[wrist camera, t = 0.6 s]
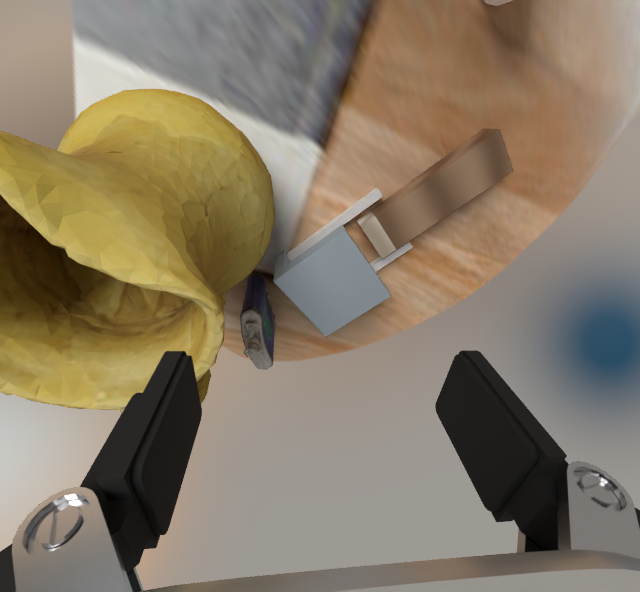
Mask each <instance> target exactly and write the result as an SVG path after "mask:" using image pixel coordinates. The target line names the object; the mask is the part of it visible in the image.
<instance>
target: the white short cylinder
mask: <svg viewBox="0 0 640 592" xmlns="http://www.w3.org/2000/svg"><path fill="white" fill-rule="evenodd" d="M483 1H484V2H485V3H486V4H490V5H494V6H499V5H502V4H505V3H508V2H511V1H514V0H483Z"/></svg>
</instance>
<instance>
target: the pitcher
mask: <svg viewBox="0 0 640 592" xmlns="http://www.w3.org/2000/svg"><path fill="white" fill-rule="evenodd" d="M274 217H275V209H274V200H273V189H272V182H271V175H270V174H269V172H268V170H267V168H266V166H265V164H264V162H263V160H262V159H261V157H260V155H259V154H258V152H257V151H256V150H255V148H254V147H253V146H252V144H251V143H250V141H249V140H248V139H247V137H246V136H245V135H244V134H243V132H242V131H240V130H238V129H237V128H236V127H235V126H234V125H233V124H232V123H231V122H229V121H228V120H227V119H226V118H224V117H223V116H222V115H221V114H220V113H218V112H217V111H216V110H215V109H214V108H213V107H211V106H210V105H209V104H207V103H205V102H204V101H202V100H200V99H198V98H195V97H192V96H189V95H186V94H183V93H179V92H176V91H169V90H162V89H138V90H125V91H121V92H119V93H117V94H114V95H112V96H109V97H107V98H105V99H103V100H101V101H99V102H97V103H94V104H92V105H91V106H89V107H88V108H87V109H85V110H84V111H82V112H81V113H80V115H79V116H78V118H77V119H76V120H75V121H74V122H73V124H72V125H71V126H70V127H69V129H68V130H67V132H66V133H65V135H64V137H63V139H62V141H61V144H60V145H59V148H58V150H57V151H56V150H53V149H50V148H47V147H44V146H41V145H38V144H35V143H33V142H30V141H28V140H26V139H23V138H21V137H18V136H15V135H12V134H9V133H6V132H3V131H0V392H2V393H4V394H6V395H12V394H13V395H16V396H19V397H22V398H25V399H28V400H31V401H36V402H41V403H47V404H53V405H60V406H64V407H69V408H78V409H101V410H120V412H121V413H122V412H123V411H124V409H125V407H126V405H127V404H128V402H129V400H130V399H131V397H132V396H133V395H134V394H136V393H143V391H144V389H145V388H146V386H147V384H148V382H149V380H150V378H151V376H152V375H153V373H154V371H155V369H156V367H157V365H158V364H159V362H160V360H161V358H162V356H163V354H164V353H165V352H166V351H185V352H186V354H187V355H190V356H192V359H193V365H194V370H195V376H196V381H197V387H198V392H199V397H200V403H202V402H203V400H204V399H205V396H206V394H207V390H208V385H209V381H210V377H211V374H210V370H209V368H210V367H211V366H212V365H213V364H214V363H216V358H217V354H218V352H219V349H220V347H221V345H222V343H223V341H224V310H223V306H224V304H225V296H226V292H227V291H228V290H229V289H231V288H232V287H234V286H235V285H237V284H238V283H240V282H241V281H242V280H244V279H245V278H246V277H247V276H248V275H249V274H250V273H251V272H252V271H253V270H254V269H255V268H256V266H257V265H258V264H259V262H260V261H261V259H262V257H263V255H264V253H265V251H266V249H267V247H268V245H269V243H270V239H271V232H272V229H273V224H274Z"/></svg>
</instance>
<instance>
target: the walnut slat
mask: <svg viewBox="0 0 640 592" xmlns="http://www.w3.org/2000/svg"><path fill="white" fill-rule="evenodd" d="M511 172H513V168H512V165H511V162H510V159H509V156H508V153H507V150H506V147H505V144H504V141H503V138H502V135H501V131H500V129H483V130H481V131H480V132H478V133H477V134H476V135H474V136H473V137H472V138H470V139H469V140H467V141H466V142H465V143H463V144H462V145H461V146H459V147H458V148H456V149H455V150H454V151H452V152H451V153H449V154H448V155H447V156H445V157H444V158H443V159H441V160H440V161H438V162H437V163H436V164H434V165H433V166H432V167H430V168H429V169H427V170H426V171H425V172H423V173H422V174H420V175H419V176H418V177H416V178H415V179H414V180H412V181H411V182H409V183H408V184H407V185H405V186H404V187H403V188H401V189H400V190H398V191H397V192H396V193H394V194H393V195H391V196H390V197H389V198H387V199H386V200H385V201H383V202H382V203H380V204H379V205H378V206H376V207H375V208H374V209H372V210H371V211H369V212H368V213H367V214H365V215H364V216H362V217H361V218H360V219H358V220H357V222H358V224H359V225H360V227H361V228H362V230H363V231H364V233H365V234H366V236H367V237H368V239H369V240H370V242H371V243H372V244H373V246H374V247H375V249H376V250H377V252H378V253H379V255H380V256H381V258H382V259H383V258H385V257H386V256H388V255H389V254H391V253H392V252H394V251H395V250H397V249H398V248H400V247H401V246H403V245H404V244H406V243H407V242H409V241H410V240H412V239H413V238H415V237H416V236H418V235H419V234H421V233H422V232H424V231H425V230H426V229H428V228H429V227H431V226H432V225H434V224H435V223H437V222H438V221H440V220H441V219H443V218H444V217H446V216H447V215H449V214H450V213H452V212H453V211H455V210H456V209H458V208H459V207H461V206H462V205H464V204H465V203H467V202H468V201H470V200H471V199H473V198H474V197H476V196H477V195H479V194H480V193H482V192H483V191H485V190H486V189H488V188H489V187H491V186H492V185H494V184H495V183H497V182H498V181H500V180H501V179H503V178H504V177H506V176H507V175H509V174H510V173H511Z"/></svg>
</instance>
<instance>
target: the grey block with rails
mask: <svg viewBox="0 0 640 592" xmlns="http://www.w3.org/2000/svg"><path fill="white" fill-rule="evenodd" d="M381 197H383V196H382V194H381V193H380V191H379V189H377V188H374V189H373V190H372V191H370V192H369V193H368V194H366V195H365V196H364V197H362V198H361V199H359V200H358V201H357V202H355V203H354V204H353V205H351V206H350V207H349V208H347V209H346V210H345V211H343V212H342V213H341V214H339V215H338V216H336V217H335V218H334V219H332V220H331V221H330V222H328V223H327V224H326V225H324V226H323V227H322V228H320V229H319V230H318V231H316V232H315V233H313V234H312V235H311V236H309V237H308V238H307V239H305V240H304V241H303V242H301V243H300V244H299V245H297V246H296V247H295V248H293V249H292V250H291V251H289V252H288V253H287V252H286V251H285V250H284V251H283V252H281V253H280V254H279V255H277V256H276V260H275V270H274V280H273V282H274V283H275V284H276V285H277V286H278V287H279V288H280V289H281V290H282V291H283V292H284V294H285V295H286V296H287V297H288V298H289V299H290V300H291V301H292V302H293V303H294V304H295V305H296V306H297V307H298V308H299V309H300V310H301V311H302V312H303V314H304V315H305V316H306V317H307V318H308V319H309V320H310V321H311V322H312V323H313V324H314V325H315V326H316V327H317V328H318V329H319V330H320V331H321V333H322V334H323V335H324V336H325V337H327V336H328V335H330V334H332V333H333V332H335V331H336V330H338V329H340V328H341V327H343V326H344V325H346V324H348V323H349V322H351V321H352V320H354V319H355V318H357V317H359V316H360V315H362V314H363V313H365V312H367V311H368V310H370V309H371V308H373V307H375V306H376V305H378V304H379V303H381V302H383V301H384V300H386V299H387V298H389V297H390V296H391V294H390V293H389V291H388V289H387V288H386V286H385V285H384V283H383V282H382V280H381V279H380V278H379V276H378V275H377V273H376V272H377V271H378V270H380V269H381V268H383V267H384V266H386V265H387V264H389V263H390V262H392V261H393V260H395V259H396V258H398V257H399V256H401V255H402V254H404V253H405V252H407V251H408V250H410V249H411V248H413V247H412V245H411V243H410V242H407V243H406V244H404V245H403V246H401V247H400V248H398V249H397V250H395V251H394V252H392V253H391V254H389V255H388V256H386V257H385V258H383V259H382V258H381V256H379V257H378V258H376V259H375V260H374V261H372V262H371V263H369V262H368V261H367V259H366V258H365V256H364V255H363V253H362V252H361V251H360V249H359V248H358V246H357V245H356V244H355V242H354V241H353V239H352V238H351V236H350V235H349V234H348V232H347V231H346V229H345V228H344V226H343V225H344V224H346V223H347V222H348V221H350V220H351V219H352V218H354V217H355V216H357V215H358V214H359V213H361V212H362V211H363V210H365V209H366V208H368V207H369V206H370V205H372V204H373V203H374V202H376V201H377V200H379V199H380V198H381Z"/></svg>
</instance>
